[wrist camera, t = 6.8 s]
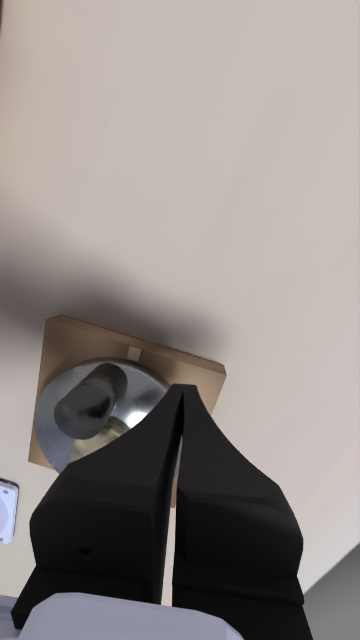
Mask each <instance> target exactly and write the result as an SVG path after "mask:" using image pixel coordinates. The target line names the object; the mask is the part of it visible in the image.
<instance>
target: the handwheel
mask: <svg viewBox="0 0 360 640" xmlns="http://www.w3.org/2000/svg"><path fill="white" fill-rule="evenodd" d="M170 387H171V386H170V385H169V384H168V383H167V382H166V381H165V380H164V379H163V378H162V377H160V376H159V375H158V374H156V373H155V372H153V371H152V370H150V369H148V368H147V367H145V366H142V365H140V364H138V363H135V362H132V361H129V360H125V359H119V358H109V357H105V358H94V359H89V360H86V361H83V362H80V363H78V364H76V365H74V366H72V367H70V368H69V369H67V370H66V371H65V372H63V373H62V374H61V375H59V376H58V377H57V378H55V379H54V380H53V381H52V382H50V383H49V384H48V385H47V386H46V388H45V389H44V390H43V392H42V393H41V395H40V397H39V399H38V401H37V404H36V407H35V412H34V430H35V436H36V439H37V442H38V445H39V447H40V449H41V451H42V453H43V455H44V456H45V458H46V459H47V461H48V462H49V463H50V465H51V466H52V467H53V468H54V469H55V470H56V471H57V472H58V473H59V474H60V473H61V472H62V471H63V470H64V469H65V467H66V466H67V465H68V464H69V463H71V462H73V461H76V460H78V459H80V458H82V457H84V456H86V455H88V454H90V453H92V452H94V451H96V450H98V449H100V448H101V447H103V446H105V445H107V444H109V443H110V442H112V441H113V440H115V439H117V438H118V437H120V436H121V435H122V434H124V433H125V432H127V431H128V430H129V429H131V428H132V427H133V426H135V425H136V424H137V423H138V422H139V421H141V420H142V419H143V418H144V417H145V416H146V415H147V414H148V413H149V412H150V411H151V410H152V409H153V408H154V407H155V406H156V405H157V403H158V402H159V401H160V400H161V399H162V398H163V396H164V395H165V394H166V392H167V391H168V390H169V388H170ZM181 449H182V436H181V442H180V447H179V453H178V458H177V463H176V469H175V474H174V477H175V476H176V475H177V474H178V472H179V465H180V457H181Z"/></svg>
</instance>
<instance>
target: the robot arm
mask: <svg viewBox="0 0 360 640" xmlns="http://www.w3.org/2000/svg"><path fill="white" fill-rule="evenodd" d="M181 436H182V449H181V457H180V465H179V472H178V480H177V490H176V527H175V552H174V565H173V577H172V607H170V606H163V605H161V599H162V588H163V577H164V567H165V557H166V546H167V536H168V526H169V516H170V506H171V496H172V487H173V480H174V474H175V469H176V463H177V458H178V453H179V447H180V442H181ZM17 498H18V488H17V487H16V486H13V485H10V484H7V483H4V482H1V481H0V542H1V543H4V544H9V543H10V542H11V540H12V539H13V532H14V523H15V515H16V506H17ZM29 525H30V537H31V542H32V547H33V552H34V557H35V561H36V567H35V568H34V570H33V572H32V574H31V576H30V578H29V579H28V581H27V583H26V585H25V587H24V588H23V590H22V592H21V594H20V596H19V598H16V597H9V596H3V595H0V640H313V638H312V635H311V632H310V628H309V625H308V622H307V619H306V616H305V613H304V610H303V606H302V605H303V604H304V596H303V593H302V590H301V587H300V584H299V581H298V578H297V573H298V569H299V564H300V560H301V556H302V552H303V537H302V534H301V531H300V528H299V525H298V523H297V520H296V518H295V516H294V513H293V511H292V509H291V507H290V505H289V504H288V502H287V500H286V498H285V496H284V494H283V492H282V490H281V488H280V487H279V485H278V484H276V483H275V482H274V481H273V480H271V479H270V478H269V477H267V476H266V475H265V474H264V473H262V472H261V471H260V470H259V469H257V468H256V467H255V466H254V465H253V464H252V463H250V462H249V461H248V460H247V459H246V458H245V457H244V456H243V455H242V454H241V453H240V452H239V451H238V450H237V449H236V448H235V447H234V446H233V445H232V444H231V443H230V441H229V440H228V439H227V438H226V437H225V435H224V434H223V433H222V432H221V430H220V429H219V428H218V426H217V425H216V423H215V422H214V420H213V419H212V417H211V416H210V414H209V412H208V411H207V409H206V407H205V405H204V403H203V401H202V399H201V397H200V394H199V391H198V388H197V386H196V385H192V384H177V383H173V384H172V385H171V387H170V388H169V390H168V391H167V392H166V394H165V395H164V396H163V398H162V399H161V400H160V401H159V402H158V403H157V405H156V406H155V407H154V408H153V409H152V410H151V411H150V412H149V413H148V414H147V415H146V416H145V417H144V418H143V419H142V420H141V421H139V422H138V423H137V424H136V425H135V426H133V427H132V428H131V429H129V430H128V431H127V432H125V433H124V434H122V435H121V436H120V437H118V438H117V439H115V440H113V441H112V442H110V443H109V444H107V445H105V446H103V447H101V448H100V449H98V450H96V451H94V452H92V453H90V454H88V455H86V456H84V457H82V458H80V459H78V460H76V461H73V462H71V463H69V464H68V465H67V466H66V467H65V469H64V470H63V471H62V472H61V473H60V475H59V476H58V477H57V479H56V480H55V481H54V483H53V484H52V485H51V487H50V488H49V490H48V491H47V493H46V494H45V496H44V497H43V499H42V500H41V502H40V503H39V505H38V506H37V507H36V509H35V510H34V512H33V513H32V516H31V519H30V522H29Z"/></svg>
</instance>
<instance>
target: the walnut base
mask: <svg viewBox="0 0 360 640" xmlns="http://www.w3.org/2000/svg"><path fill="white" fill-rule="evenodd" d="M105 357H109V358H119V359H125V360H129V361H132V362H135V363H138V364H140V365H142V366H145V367H147V368H148V369H150V370H152V371H153V372H155V373H156V374H158V375H159V376H160V377H162V378H163V379H164V380H165V381H166V382H167V383H168V384H169V385H170V386H171V385H172V384H173V383H177V384H192V385H196V386H197V388H198V391H199V394H200V397H201V399H202V401H203V403H204V405H205V407H206V409H207V411H208V412H209V414H210V416H211V414H212V411H213V409H214V406H215V404H216V401H217V399H218V396H219V394H220V391H221V389H222V386H223V384H224V381H225V379H226V376H227V375H226V371H225V368H224V365H221V364H217V363H214V362H211V361H208V360H205V359H201V358H198V357H195V356H192V355H188V354H185V353H182V352H179V351H175V350H172V349H169V348H166V347H163V346H159V345H156V344H153V343H150V342H146V341H143V340H140V339H137V338H134V337H130V336H127V335H124V334H121V333H117V332H114V331H111V330H108V329H104V328H101V327H98V326H95V325H92V324H88V323H85V322H82V321H79V320H75V319H72V318H69V317H66V316H63V315H59V316H55V317H52V318H49V319H46V325H45V332H44V340H43V348H42V356H41V364H40V372H39V380H38V387H37V395H36V403H35V407H36V404H37V401H38V399H39V397H40V395H41V393H42V392H43V390H44V389H45V388H46V386H47V385H48V384H49V383H50V382H52V381H53V380H54V379H55V378H57V377H58V376H59V375H61V374H62V373H63V372H65V371H66V370H67V369H69V368H70V367H72V366H74V365H76V364H78V363H80V362H83V361H86V360H89V359H94V358H105ZM34 412H35V411H34ZM28 462H31V463H34V464H38V465H41V466H44V467H47V468H50V469H53V470H55V469H54V468H53V467H52V466H51V465H50V463H49V462H48V461H47V459H46V458H45V456H44V455H43V453H42V451H41V449H40V447H39V445H38V442H37V439H36V436H35V430H34V419H33V427H32V435H31V442H30V450H29V458H28ZM177 480H178V474H177V475H176V476H175V477H174V480H173V487H172V496H171V506H170V507H172V508H175V505H176V490H177Z"/></svg>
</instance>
